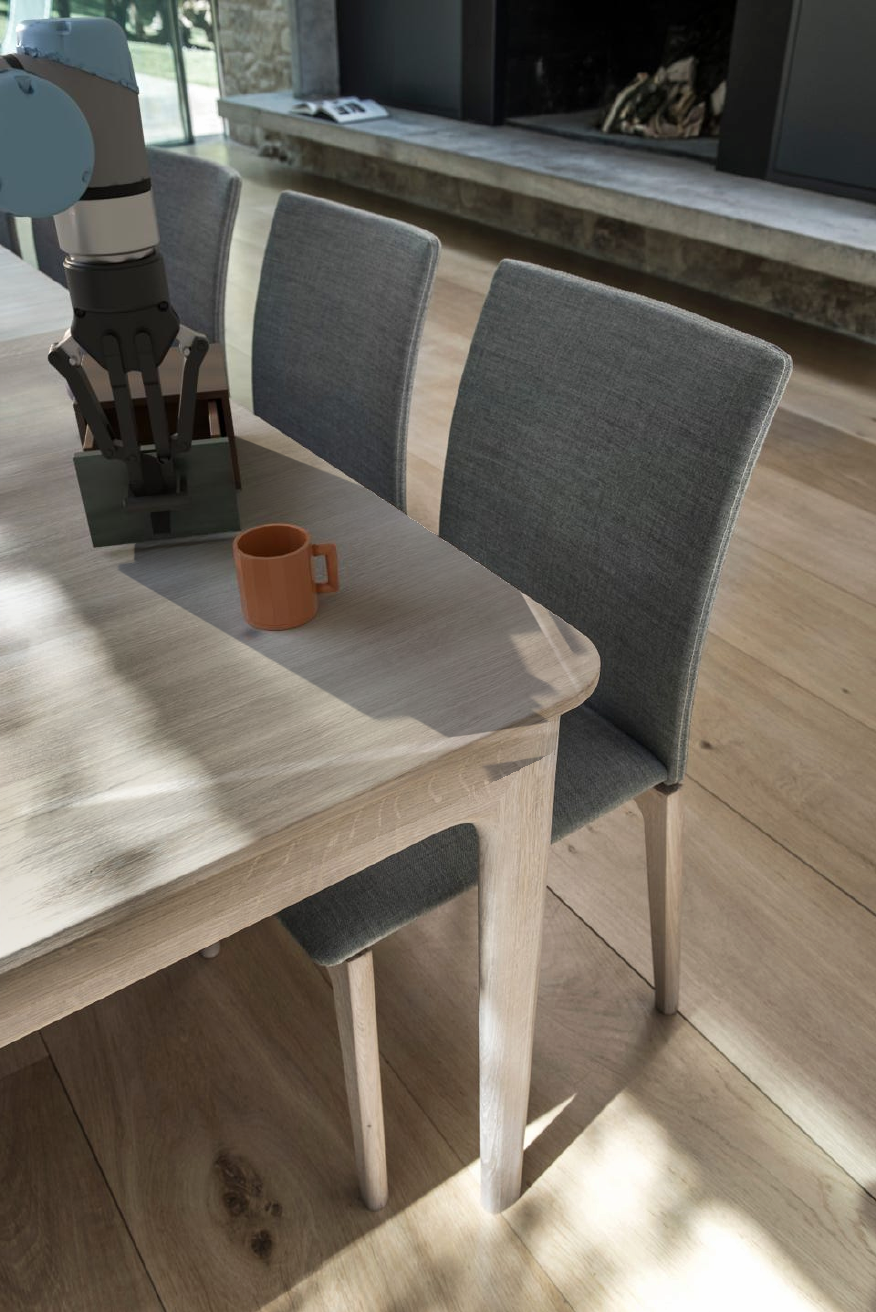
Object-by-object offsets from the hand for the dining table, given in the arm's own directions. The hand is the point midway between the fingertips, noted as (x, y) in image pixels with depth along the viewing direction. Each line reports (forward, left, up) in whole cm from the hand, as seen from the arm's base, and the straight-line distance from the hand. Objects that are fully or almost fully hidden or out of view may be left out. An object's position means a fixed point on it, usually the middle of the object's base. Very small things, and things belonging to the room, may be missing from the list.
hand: (162, 526), depth 94 cm
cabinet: (0, +21, -3) cm, 21 cm away
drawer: (0, +7, -2) cm, 7 cm away
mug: (+9, -12, -3) cm, 16 cm away
